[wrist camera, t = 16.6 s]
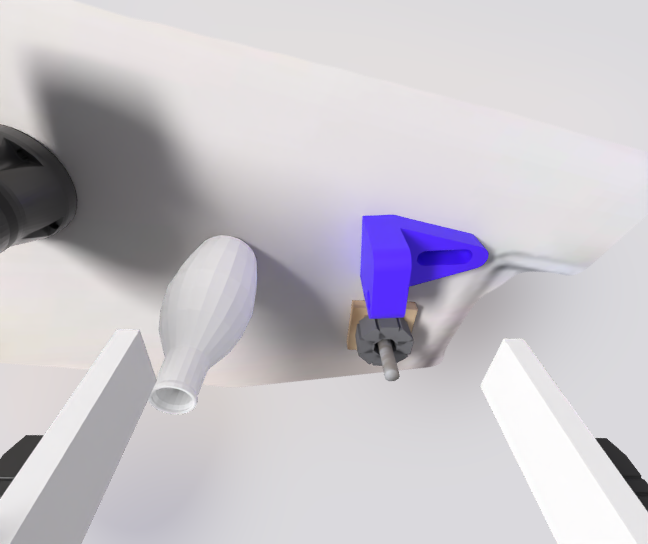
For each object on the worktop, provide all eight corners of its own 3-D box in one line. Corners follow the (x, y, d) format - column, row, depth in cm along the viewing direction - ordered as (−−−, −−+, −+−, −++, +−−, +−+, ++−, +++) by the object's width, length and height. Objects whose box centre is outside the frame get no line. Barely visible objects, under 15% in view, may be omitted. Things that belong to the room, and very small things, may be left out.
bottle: (180, 267, 54) (94, 411, 32) (209, 213, 49) (131, 343, 28) (243, 297, 57) (203, 445, 36) (276, 250, 52) (252, 390, 31)
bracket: (360, 276, 56) (370, 325, 46) (362, 215, 50) (374, 257, 40) (468, 272, 56) (501, 320, 46) (484, 210, 50) (526, 251, 40)
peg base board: (346, 341, 64) (352, 396, 54) (352, 300, 58) (360, 353, 48) (403, 342, 64) (420, 397, 55) (414, 302, 59) (435, 354, 49)
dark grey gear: (359, 310, 57) (362, 326, 54) (411, 311, 57) (417, 328, 54) (353, 347, 62) (355, 365, 59) (401, 348, 62) (406, 366, 59)
